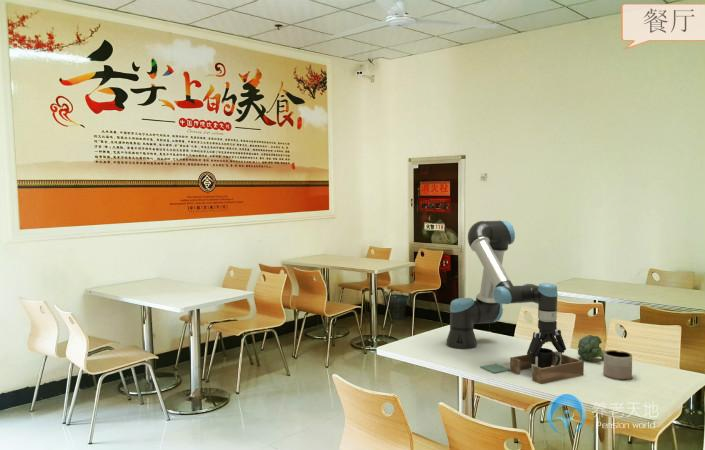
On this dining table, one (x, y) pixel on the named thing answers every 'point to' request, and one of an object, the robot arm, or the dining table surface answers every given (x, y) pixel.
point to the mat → (495, 368)
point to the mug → (546, 358)
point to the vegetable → (590, 347)
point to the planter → (617, 365)
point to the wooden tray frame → (548, 368)
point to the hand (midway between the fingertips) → (546, 369)
